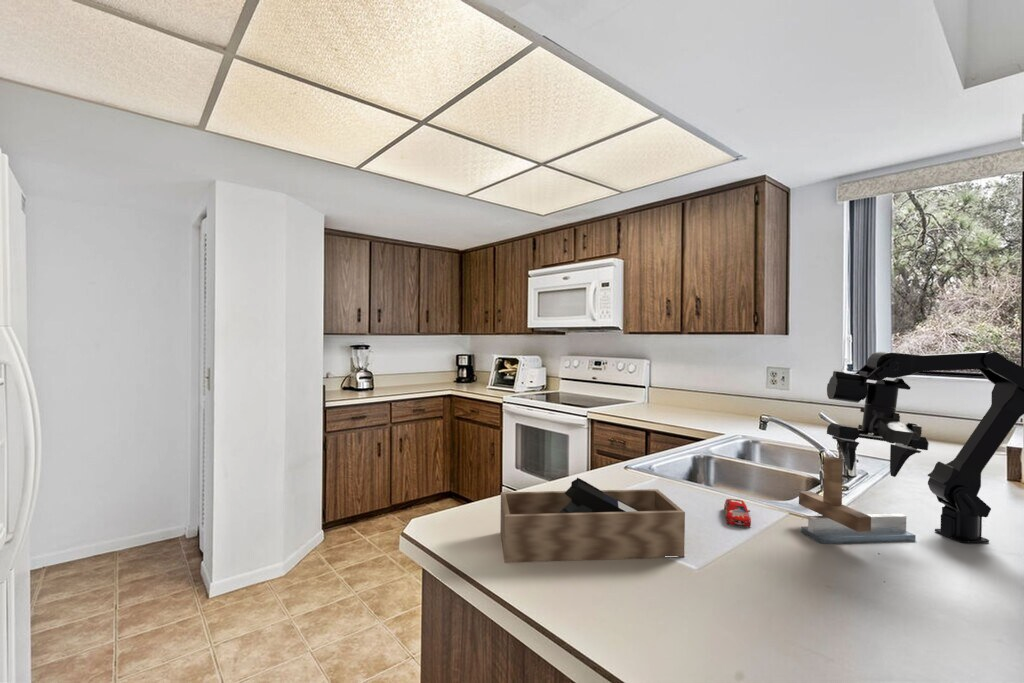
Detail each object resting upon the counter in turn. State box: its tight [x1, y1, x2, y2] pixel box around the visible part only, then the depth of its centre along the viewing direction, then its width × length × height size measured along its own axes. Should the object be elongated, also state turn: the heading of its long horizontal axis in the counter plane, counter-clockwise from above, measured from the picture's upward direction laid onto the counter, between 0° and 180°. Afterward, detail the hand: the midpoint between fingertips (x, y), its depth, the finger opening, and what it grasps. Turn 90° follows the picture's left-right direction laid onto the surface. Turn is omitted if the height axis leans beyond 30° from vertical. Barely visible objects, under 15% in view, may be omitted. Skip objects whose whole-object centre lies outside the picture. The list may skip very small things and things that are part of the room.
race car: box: [723, 498, 752, 528], centre depth 115 cm, size 13×5×4 cm, turn 158°
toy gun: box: [559, 477, 639, 513], centre depth 102 cm, size 3×24×15 cm, turn 107°
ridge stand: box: [800, 513, 916, 544], centre depth 105 cm, size 22×6×4 cm, turn 95°
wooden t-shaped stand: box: [798, 456, 871, 532], centre depth 105 cm, size 16×3×13 cm, turn 9°
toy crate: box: [499, 488, 686, 564], centre depth 100 cm, size 36×14×9 cm, turn 95°
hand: (871, 473), depth 109 cm, fingers open, 9 cm apart
